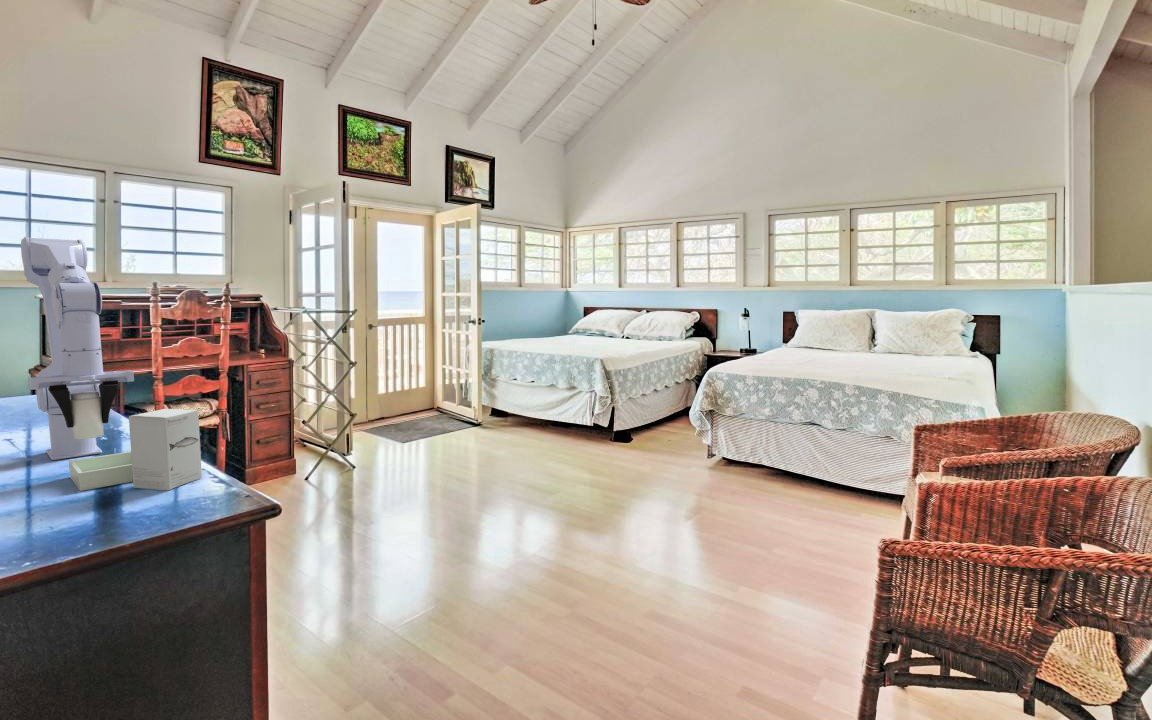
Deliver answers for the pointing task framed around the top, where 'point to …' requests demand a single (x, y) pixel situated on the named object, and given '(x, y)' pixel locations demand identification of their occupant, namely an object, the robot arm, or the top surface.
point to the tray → (101, 471)
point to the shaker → (86, 415)
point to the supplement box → (165, 448)
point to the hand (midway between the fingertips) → (87, 424)
